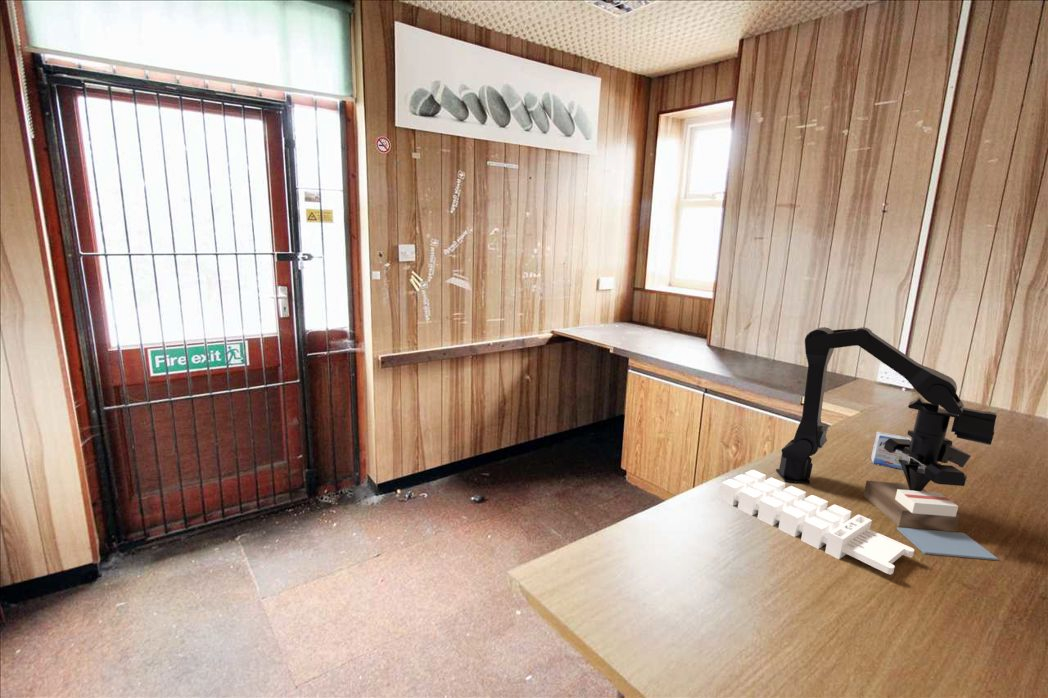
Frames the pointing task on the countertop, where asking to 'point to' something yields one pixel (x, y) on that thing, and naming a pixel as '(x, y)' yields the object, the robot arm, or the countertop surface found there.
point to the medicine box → (883, 455)
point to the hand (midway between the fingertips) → (914, 494)
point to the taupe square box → (902, 517)
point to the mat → (946, 543)
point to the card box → (926, 503)
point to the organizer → (812, 520)
